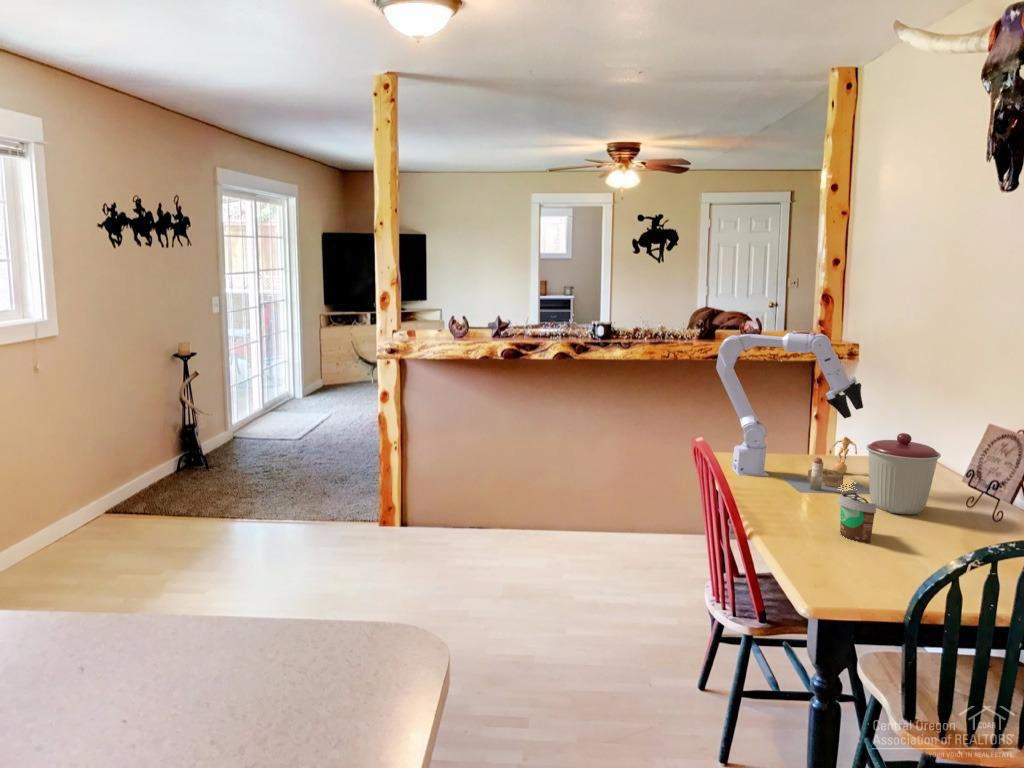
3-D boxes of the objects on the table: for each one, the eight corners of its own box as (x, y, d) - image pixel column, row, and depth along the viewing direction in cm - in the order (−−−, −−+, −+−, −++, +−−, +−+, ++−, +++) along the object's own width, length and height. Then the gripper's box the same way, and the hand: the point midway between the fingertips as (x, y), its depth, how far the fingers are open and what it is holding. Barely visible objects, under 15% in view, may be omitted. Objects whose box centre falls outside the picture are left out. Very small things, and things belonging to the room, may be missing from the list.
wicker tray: (815, 486, 234) (816, 476, 234) (804, 477, 243) (805, 468, 243) (846, 486, 234) (847, 477, 234) (833, 478, 243) (834, 469, 243)
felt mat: (799, 493, 227) (799, 492, 227) (779, 477, 244) (779, 476, 244) (875, 495, 227) (875, 494, 227) (849, 479, 244) (850, 478, 244)
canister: (868, 495, 228) (875, 423, 224) (938, 507, 217) (947, 432, 214) (853, 510, 213) (861, 433, 210) (928, 524, 203) (937, 444, 199)
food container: (827, 527, 198) (830, 488, 197) (852, 528, 198) (855, 489, 197) (846, 544, 186) (850, 503, 185) (872, 545, 186) (876, 504, 184)
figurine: (823, 472, 252) (827, 435, 250) (832, 469, 256) (836, 433, 254) (849, 478, 246) (853, 440, 244) (858, 475, 250) (861, 438, 248)
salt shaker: (812, 490, 229) (815, 458, 228) (808, 487, 232) (811, 456, 231) (822, 490, 229) (825, 459, 228) (818, 487, 232) (821, 456, 231)
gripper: (833, 375, 228) (854, 417, 228) (856, 360, 237) (877, 401, 236) (813, 382, 234) (833, 423, 233) (836, 367, 242) (856, 407, 242)
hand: (853, 412), depth 235 cm, fingers open, 7 cm apart
